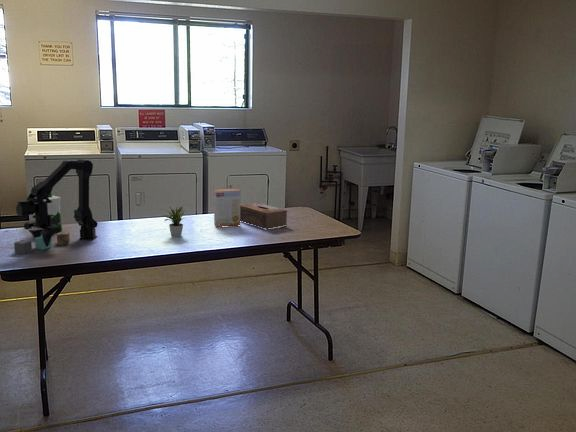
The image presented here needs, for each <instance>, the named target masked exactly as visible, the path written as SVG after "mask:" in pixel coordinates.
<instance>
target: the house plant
mask: <svg viewBox="0 0 576 432" xmlns="http://www.w3.org/2000/svg"><path fill="white" fill-rule="evenodd" d="M167 207H168V208H169V209H170V211H171V212H170V211H168V210H165V212H167V213H168V214H169V215H163V214H162V215H160V216H161V217H163V218H165V219H164V222H167V221H170V223H169V224H168V225H169V232H170V236H172V237H171V238H174V237H178V238H181V237H182V233H183V227H184V224H183V223H181V221H182V220H184V219H185V217H184V218H182V217H183V215H184V214H185V213H186V211H185V210H184V205H182V206H180V207H178V206H176V209H173V208H172V207H171V206H167ZM161 210H163V208H162V209H161ZM180 236H181V237H180Z"/></svg>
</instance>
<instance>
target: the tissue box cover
mask: <svg viewBox="0 0 576 432" xmlns="http://www.w3.org/2000/svg"><path fill="white" fill-rule="evenodd" d="M287 217H288V210H287V209H284V208H280V207H277V206H273V205H270V204H269V205H268V204H265V203H262V202H252V203H244V204H240V221H243V222H246V223H249V224H253V225H256V226H259V227H262V228H266V229H268V228H273V227H278V226H283V225H286V226H287V221H288V220H287ZM243 222H242V223H243ZM246 223H245V224H246ZM249 224H248V225H249Z"/></svg>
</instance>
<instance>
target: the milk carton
mask: <svg viewBox="0 0 576 432" xmlns="http://www.w3.org/2000/svg"><path fill="white" fill-rule="evenodd" d="M47 198H49V200H51V201H52V203H47V205H48V214H49V215H51V216H52V218H55V219H60V221H59V225H58V226H59V227H60V228H61V232H63V227H62V218H61V217H62V216H61V202H62V201H61V200H62V197H60V196H56V195H52V192H51V193H50V195H49V196H48V197H47ZM52 226H57V225H52ZM48 227H49V226H48ZM42 232H43V233H45V230H43V231H42Z"/></svg>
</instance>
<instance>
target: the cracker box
mask: <svg viewBox="0 0 576 432" xmlns="http://www.w3.org/2000/svg"><path fill="white" fill-rule="evenodd" d="M213 204H214V205H213V210H214V211H213V214H214V215H213V216H214V217H213V222H214V223H213V225H215V226H216V227H215V226H214V227H215V228H217V227H220V228H223V227H222V226H235V227H239V226H238V225H240V226H241V222H240V205H241V190H240V189H239V188H225V189H224V188H223V189H214V190H213Z"/></svg>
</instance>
